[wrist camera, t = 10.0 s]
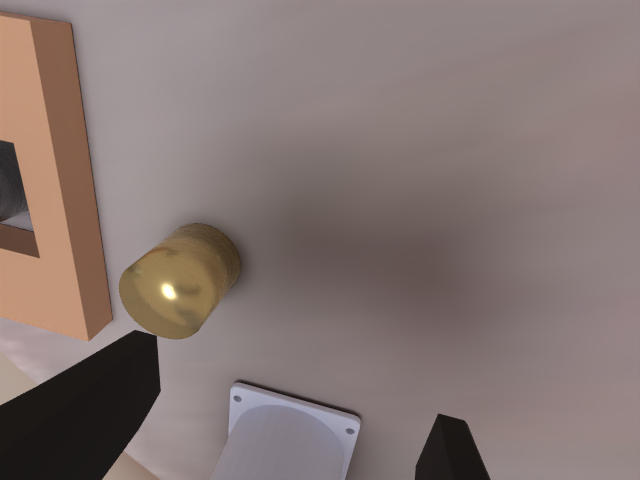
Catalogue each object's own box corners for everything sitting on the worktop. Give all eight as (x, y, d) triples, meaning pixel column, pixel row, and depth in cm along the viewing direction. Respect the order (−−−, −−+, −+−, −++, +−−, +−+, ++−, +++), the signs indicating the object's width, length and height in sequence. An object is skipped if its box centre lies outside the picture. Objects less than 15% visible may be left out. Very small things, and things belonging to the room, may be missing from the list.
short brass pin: (239, 298, 21) (204, 348, 18) (170, 280, 22) (123, 326, 18) (242, 233, 19) (204, 274, 16) (167, 215, 20) (114, 252, 16)
